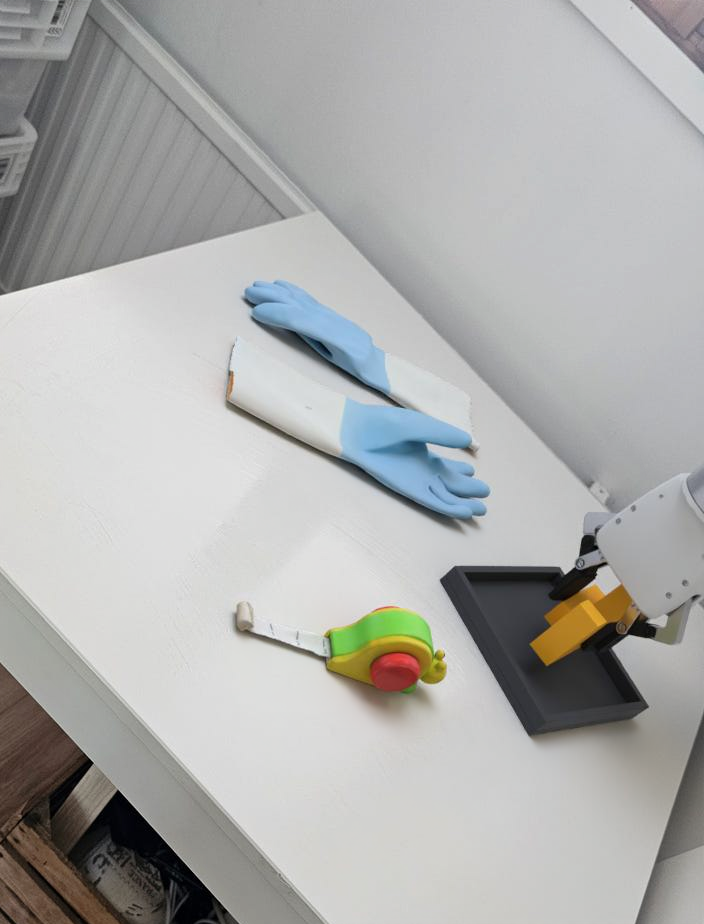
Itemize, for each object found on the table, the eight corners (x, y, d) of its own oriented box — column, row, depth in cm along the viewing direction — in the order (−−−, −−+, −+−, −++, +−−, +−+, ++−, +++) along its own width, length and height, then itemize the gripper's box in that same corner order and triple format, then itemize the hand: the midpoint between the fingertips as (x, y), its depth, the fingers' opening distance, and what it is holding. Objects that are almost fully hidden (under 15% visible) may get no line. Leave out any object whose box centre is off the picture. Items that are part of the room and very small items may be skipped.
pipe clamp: (572, 602, 106) (619, 564, 102) (599, 636, 105) (648, 598, 101) (517, 629, 97) (567, 588, 93) (546, 666, 96) (598, 626, 92)
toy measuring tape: (430, 719, 88) (481, 678, 84) (232, 649, 80) (278, 599, 76) (419, 661, 92) (468, 618, 88) (231, 588, 84) (274, 538, 80)
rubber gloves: (241, 265, 118) (271, 218, 114) (467, 399, 128) (502, 361, 124) (222, 404, 99) (257, 355, 95) (487, 548, 110) (530, 509, 105)
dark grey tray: (544, 579, 112) (560, 566, 111) (632, 718, 105) (649, 707, 104) (439, 579, 101) (454, 565, 100) (528, 735, 94) (546, 722, 93)
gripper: (808, 582, 87) (641, 695, 99) (693, 430, 94) (550, 553, 106) (767, 582, 82) (597, 701, 94) (649, 422, 89) (506, 552, 101)
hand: (574, 621), depth 100 cm, fingers closed on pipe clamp, 5 cm apart
